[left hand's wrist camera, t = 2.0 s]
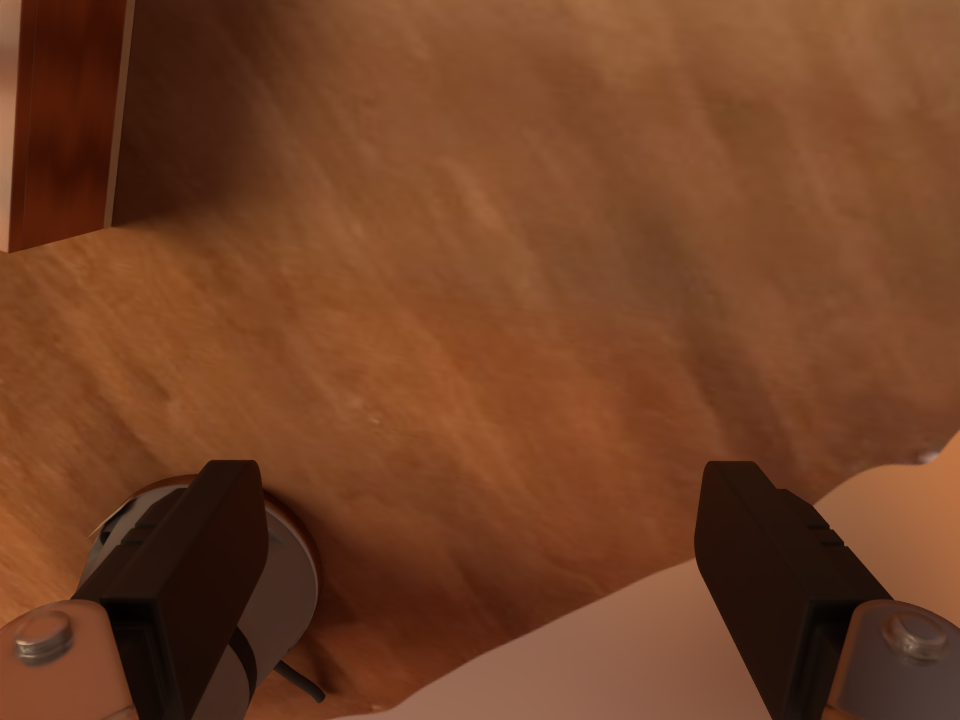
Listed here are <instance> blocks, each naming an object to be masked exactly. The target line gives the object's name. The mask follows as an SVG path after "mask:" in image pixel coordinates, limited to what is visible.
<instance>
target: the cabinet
mask: <svg viewBox="0 0 960 720" xmlns="http://www.w3.org/2000/svg"><path fill="white" fill-rule="evenodd" d="M134 10H135V0H0V251H2V252H5V253H13V252H17V251H20V250H25V249H29V248H32V247H36V246H40V245H44V244H48V243H51V242H55V241H59V240H63V239H67V238H70V237H74V236H78V235H82V234H86V233H89V232H93V231H97V230H101V229H107V228H111V223H112V214H113V205H114V195H115V186H116V177H117V167H118V158H119V149H120V140H121V130H122V121H123V112H124V102H125V93H126V84H127V75H128V65H129V56H130V47H131V37H132V28H133V19H134Z"/></svg>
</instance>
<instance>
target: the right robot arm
mask: <svg viewBox="0 0 960 720" xmlns="http://www.w3.org/2000/svg"><path fill="white" fill-rule="evenodd" d="M196 476H197V475H186V476H178V477H173V478H168V479H164V480H161V481H158V482H155V483H153V484H150V485H148V486H146V487H144V488H142V489H141V490H139V491H137V492H136V493H135V494H133V495H132V496H130V497H129V498H128V499H127V500H126V501H125V502H124V503H123V504H122V505H121V506H120V507H119V508H118V509H117V510H116V511H115V512H114V513H113V514H111V515H110V516H109V517H108V518H107V519H106V520H105V521H103V522H102V523H101V524H100V525H99V526H98V527H97V528H96V529H95V530H94V531H93V532H92V533H91V534H93V533H94V532H95V531H96V530H97V529H98V528H99V527H101V526H102V525H103V524H104V523H105V524H104V525H103V527H102V528H101V530H100V532H99V534H98V536H97V537H96V539H95V541H94V543H93V546H92V548H91V551H90V554H89V557H88V561H87V563H86V565H85V568H84V571H83V573H82V576H81V579H80V582H79V585H78V588H77V591H78V589H79V588H80V587H81V586H82V585H83V584H84V583H85V581H86V580H87V579H88V578H89V577H90V576H91V574H92V573H93V572H94V571H95V570H96V569H97V567H98V566H99V565H100V564H101V563H102V562H103V560H104V559H105V558H106V557H107V556H108V555H109V554H110V552H111V551H112V550H113V549H114V548H115V547H116V545H120V544H121V540H122V538H123V537H124V536H125V535H126V534H127V533H128V531H129V530H130V529H131V528H134V527H135V523H136V522H137V521H138V520H139V519H140V518H141V516H142V515H143V514H144V513H145V512H146V511H147V509H148V508H149V507H150V506H151V505H152V504H153V503H155V502H157V501H158V500H160V499H161V498H163V497H164V496H166V495H168V494H169V493H171V492H172V491H174V490H175V489H177V488H188V486H189V485H190V484H191V483H192V481H193V480H194V479H195V478H196ZM263 497H264V504H265V511H266V518H267V525H268V533H269V549H268V556H267V561H266V565H265V568H264V570H263V572H262V574H261V577H260V579H259V581H258V583H257V585H256V587H255V589H254V591H253V593H252V595H251V597H250V599H249V601H248V603H247V605H246V607H245V610H244V612H243V614H242V616H241V618H240V620H239V622H238V624H237V626H236V628H235V630H234V632H233V634H232V636H231V638H230V640H229V643H228V645H227V647H226V649H225V651H224V653H223V655H222V657H221V659H220V661H219V663H218V665H217V667H216V669H215V671H214V674H213V676H212V678H211V680H210V682H209V684H208V686H207V688H206V690H205V692H204V694H203V696H202V698H201V700H200V702H199V704H198V707H197V709H196V711H195V713H194V715H193V717H192V719H191V720H243V719H244V716H245V714H246V712H247V709H248V706H249V704H250V701H251V699H252V696H253V694H254V692H255V689H256V688H257V687H258V686H259V685H260V683H261V682H262V681H263V680H264V679H265V678H266V676H267V675H268V674H269V673H270V672H271V670H272V669H274V670H275V671H277V672H278V673H279V674H281V675H282V676H283V677H285V678H286V679H288V680H289V681H290V682H292V683H293V684H295V685H296V686H298V687H300V688H301V689H303V690H304V691H306V692H307V693H309V694H310V695H311V696H312V697H313V698H314V699H315V700H316V701H317V702H318V703H320V702H322V701H323V700H324V698H325V694H324V693H323V692H322V690H321V689H320V688H319V687H318V686H316V685H315V684H314V683H313V682H311V681H310V680H308V679H307V678H305V677H304V676H302V675H301V674H299V673H298V672H296V671H295V670H294V669H292V668H291V667H290V666H288V665H287V664H286V663H284V662H283V661H282V660H280V659H281V658H282V657H283V656H284V655H285V654H286V653H287V652H288V651H289V650H290V649H291V648H292V647H293V646H294V645H295V644H296V643H297V642H298V640H299V639H300V638H301V636H302V635H303V633H304V631H305V630H306V628H307V627H308V625H309V623H310V621H311V619H312V616H313V614H314V611H315V608H316V605H317V602H318V599H319V596H320V591H321V585H322V569H321V562H320V558H319V554H318V551H317V549H316V546H315V544H314V542H313V540H312V538H311V536H310V534H309V533H308V531H307V530H306V528H305V527H304V526H303V524H302V523H301V522H300V521H299V519H298V518H297V517H296V516H295V515H294V514H293V513H292V512H291V511H290V510H289V509H287V508H286V507H285V506H284V505H283V504H281V503H280V502H279V501H277V500H276V499H275V498H273V497H271V496H270V495H268V494H266V493H265V492H263ZM91 534H90V535H91ZM90 535H89V536H90ZM77 591H76V592H77Z"/></svg>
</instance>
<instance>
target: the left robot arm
mask: <svg viewBox="0 0 960 720" xmlns="http://www.w3.org/2000/svg"><path fill="white" fill-rule="evenodd" d="M694 547H695V556H696V561H697V565H698V568H699V571H700V573H701V575H702V577H703V579H704V581H705V583H706V585H707V587H708V589H709V591H710V593H711V596H712V598H713V600H714V602H715V604H716V606H717V608H718V610H719V612H720V614H721V616H722V618H723V620H724V622H725V624H726V626H727V628H728V630H729V632H730V634H731V636H732V638H733V640H734V642H735V644H736V646H737V648H738V651H739V652H740V655H741V657H742V659H743V661H744V663H745V665H746V667H747V669H748V671H749V673H750V675H751V677H752V679H753V681H754V683H755V685H756V687H757V689H758V691H759V693H760V695H761V697H762V699H763V701H764V704H765V705H766V707H767V710H768V712H769V714H770V716H771V718H772V720H960V629H959V628H958V627H957V626H955V625H954V624H953V623H951V622H949V621H948V620H946V619H945V618H943V617H941V616H939V615H937V614H935V613H933V612H931V611H929V610H927V609H924V608H922V607H919V606H916V605H913V604H910V603H905V602H901V601H895V600H894V599H893V598H892V597H891V596H890V595H889V593H888V592H887V591H886V590H885V589H884V588H883V586H882V585H881V584H880V583H879V582H878V581H877V580H876V578H875V577H874V576H873V575H872V574H871V573H870V572H869V570H868V569H867V568H866V567H865V566H864V565H863V564H862V562H861V561H860V560H859V559H858V558H857V557H856V555H855V554H854V553H853V552H852V551H851V550H850V549H849V547H848V546H844V542H843V540H842V539H841V538H840V537H839V536H838V535H837V534H836V532H835V531H834V530H830V528H829V524H828V523H827V522H826V521H825V520H824V519H823V517H822V516H821V515H820V514H819V513H818V512H817V511H816V509H815V508H814V507H813V506H812V505H810V504H809V503H807V502H806V501H804V500H802V499H801V498H799V497H798V496H796V495H795V494H793V493H791V492H790V491H788V490H787V489H776V488H775V486H774V485H773V484H772V483H771V481H770V480H769V479H768V478H767V476H766V475H765V474H764V473H763V472H762V470H761V469H760V468H759V467H758V465H757V464H756V463H755V462H753V461H709V462H708V463H707V464H706V466H705V469H704V472H703V479H702V486H701V493H700V500H699V507H698V514H697V521H696V528H695V536H694ZM268 549H269V533H268V525H267V518H266V511H265V504H264V497H263V489H262V482H261V475H260V470H259V466H258V464H257V463H256V461H254V460H211V461H209V462H208V463H207V464H206V465H205V466H204V468H203V469H202V470H201V471H200V473H199V474H198V475H197V476H196V478H195V479H194V480H193V481H192V483H191V484H190V485H189V486H188V488H177V489H175V490H174V491H172V492H171V493H169V494H168V495H166V496H164V497H163V498H161V499H160V500H158V501H157V502H155V503H153V504H152V505H151V506H150V507H149V508H148V509H147V511H146V512H145V513H144V514H143V515H142V516H141V518H140V519H139V520H138V521H137V522H136V523H135V527H134V528H131V529H130V530H129V531H128V533H127V534H126V535H125V536H124V537H123V538H122V540H121V544H120V545H116V547H115V548H114V549H113V550H112V551H111V552H110V554H109V555H108V556H107V557H106V558H105V559H104V560H103V562H102V563H101V564H100V565H99V566H98V567H97V569H96V570H95V571H94V572H93V573H92V574H91V576H90V577H89V578H88V579H87V580H86V581H85V583H84V584H83V585H82V586H81V587H80V588H79V589H78V591H77V592H76V593H75V594H74V595H73V596H72V598H71V599H70V600H65V601H59V602H55V603H50V604H47V605H44V606H41V607H38V608H36V609H33V610H31V611H29V612H27V613H25V614H23V615H21V616H19V617H17V618H15V619H14V620H12V621H10V622H9V623H7V624H6V625H5V626H3V627H2V628H1V629H0V720H191V719H192V717H193V715H194V713H195V711H196V709H197V707H198V704H199V702H200V700H201V698H202V696H203V694H204V692H205V690H206V688H207V686H208V684H209V682H210V680H211V678H212V676H213V674H214V671H215V669H216V667H217V665H218V663H219V661H220V659H221V657H222V655H223V653H224V651H225V649H226V647H227V645H228V643H229V640H230V638H231V636H232V634H233V632H234V630H235V628H236V626H237V624H238V622H239V620H240V618H241V616H242V614H243V612H244V610H245V607H246V605H247V603H248V601H249V599H250V597H251V595H252V593H253V591H254V589H255V587H256V585H257V583H258V581H259V579H260V577H261V574H262V572H263V570H264V568H265V565H266V561H267V556H268Z"/></svg>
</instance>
